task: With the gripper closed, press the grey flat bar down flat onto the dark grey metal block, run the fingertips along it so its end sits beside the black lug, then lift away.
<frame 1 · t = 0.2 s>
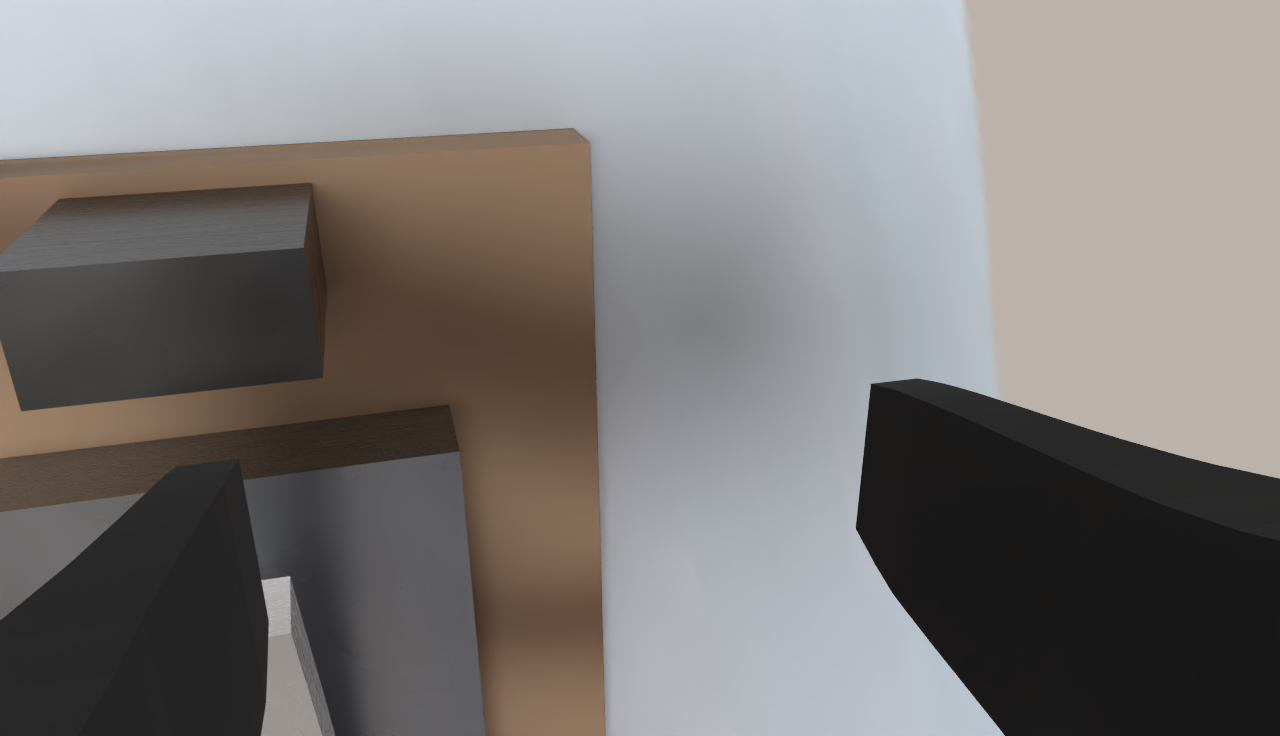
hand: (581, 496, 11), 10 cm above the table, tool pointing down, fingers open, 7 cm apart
clamp block: (257, 645, 18), on the board, point 4 cm above the table
board: (280, 598, 22), on the table
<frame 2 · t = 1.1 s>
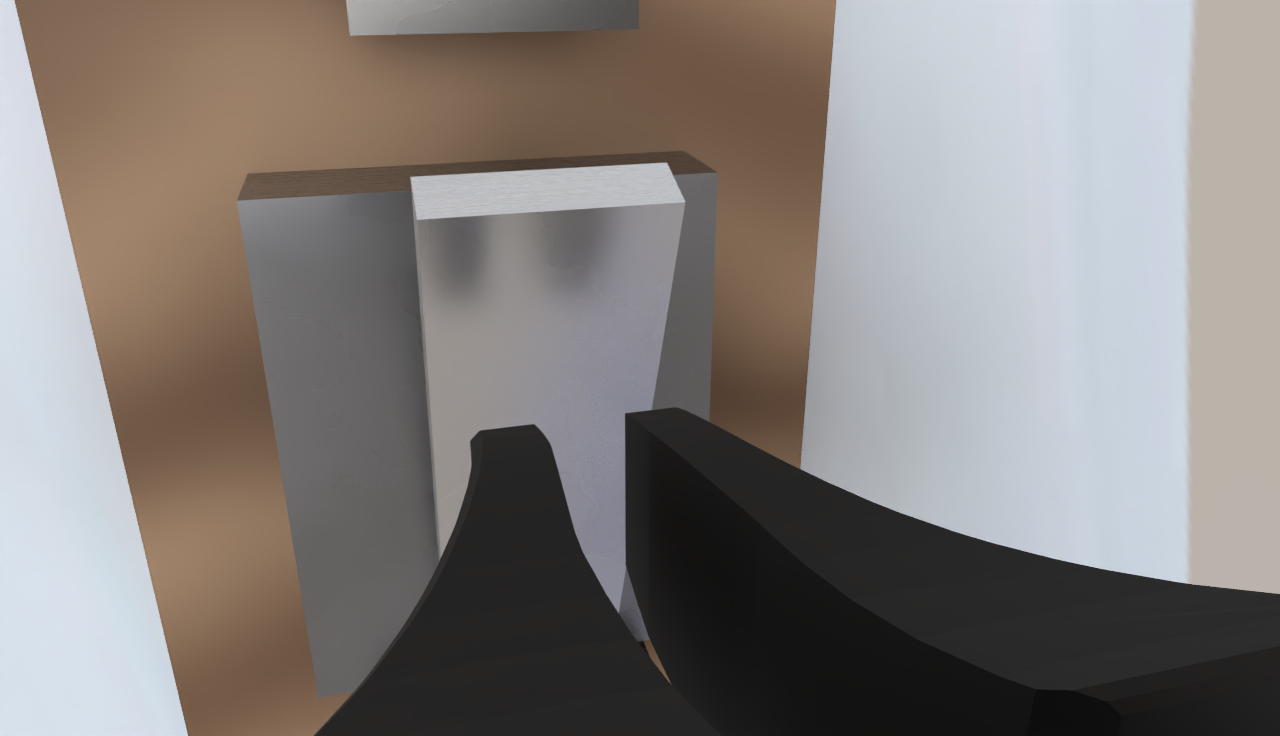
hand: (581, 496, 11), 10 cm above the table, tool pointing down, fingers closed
clamp block: (502, 377, 18), on the board, point 4 cm above the table
grey flat bar: (536, 550, 16), point 7 cm above the table, hinge at 22.0°
board: (483, 376, 22), on the table
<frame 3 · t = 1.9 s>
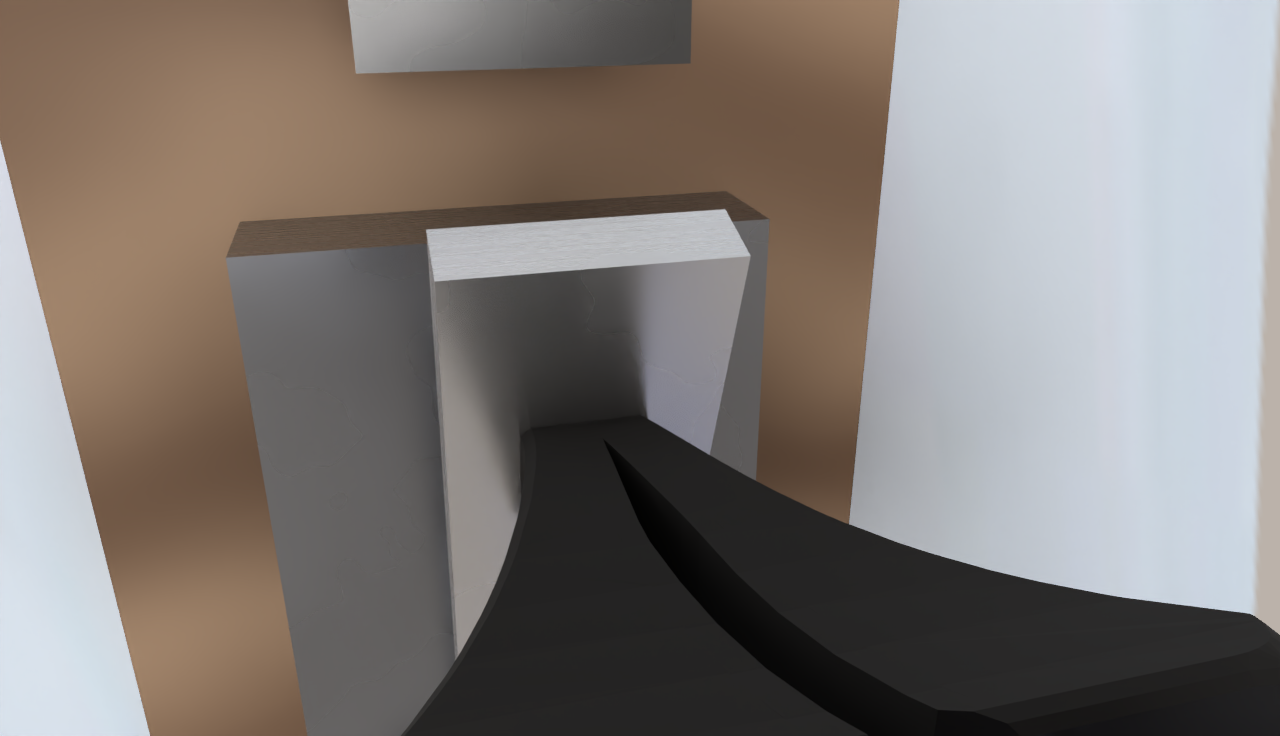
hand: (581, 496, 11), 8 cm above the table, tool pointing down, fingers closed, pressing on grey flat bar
clamp block: (526, 448, 16), on the board, point 4 cm above the table
grey flat bar: (566, 646, 14), point 7 cm above the table, hinge at 20.3°, touching gripper
board: (501, 435, 20), on the table
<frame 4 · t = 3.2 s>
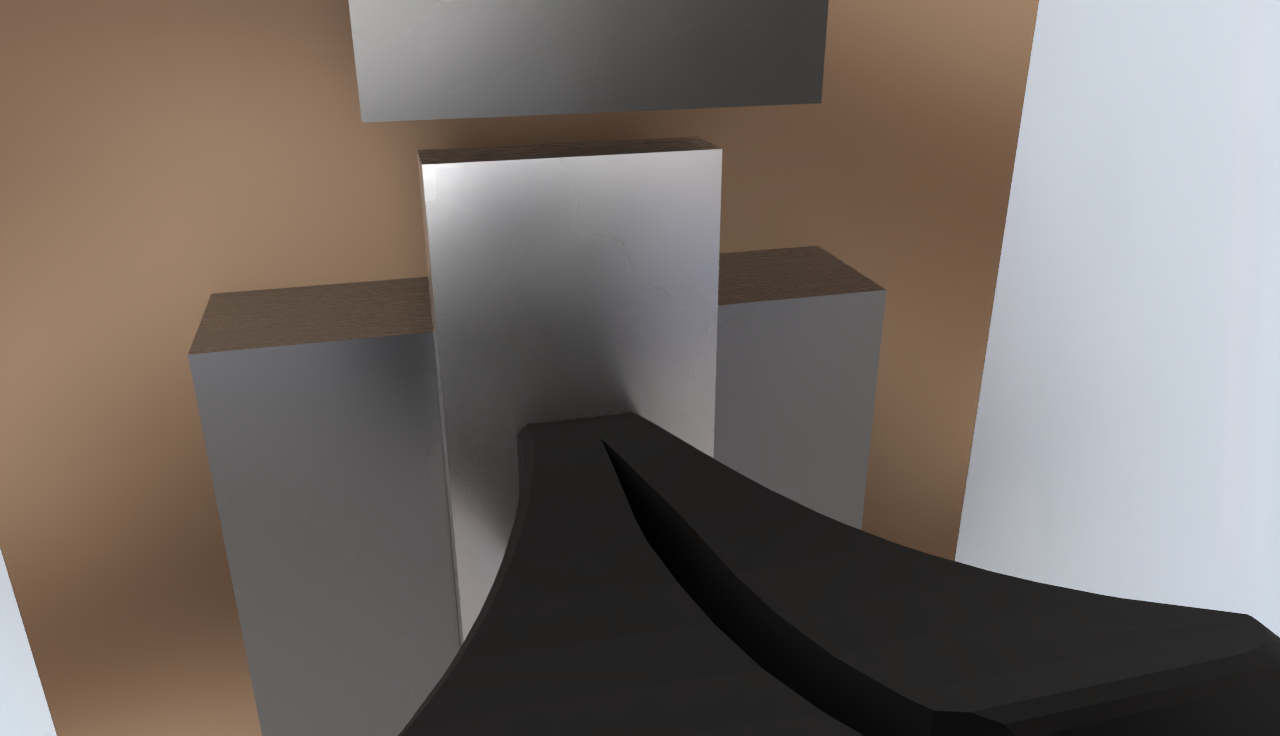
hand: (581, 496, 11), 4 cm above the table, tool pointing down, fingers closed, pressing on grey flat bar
clamp block: (574, 577, 13), on the board, point 4 cm above the table
grey flat bar: (589, 694, 12), point 4 cm above the table, hinge at -0.8°, touching gripper
board: (533, 532, 16), on the table
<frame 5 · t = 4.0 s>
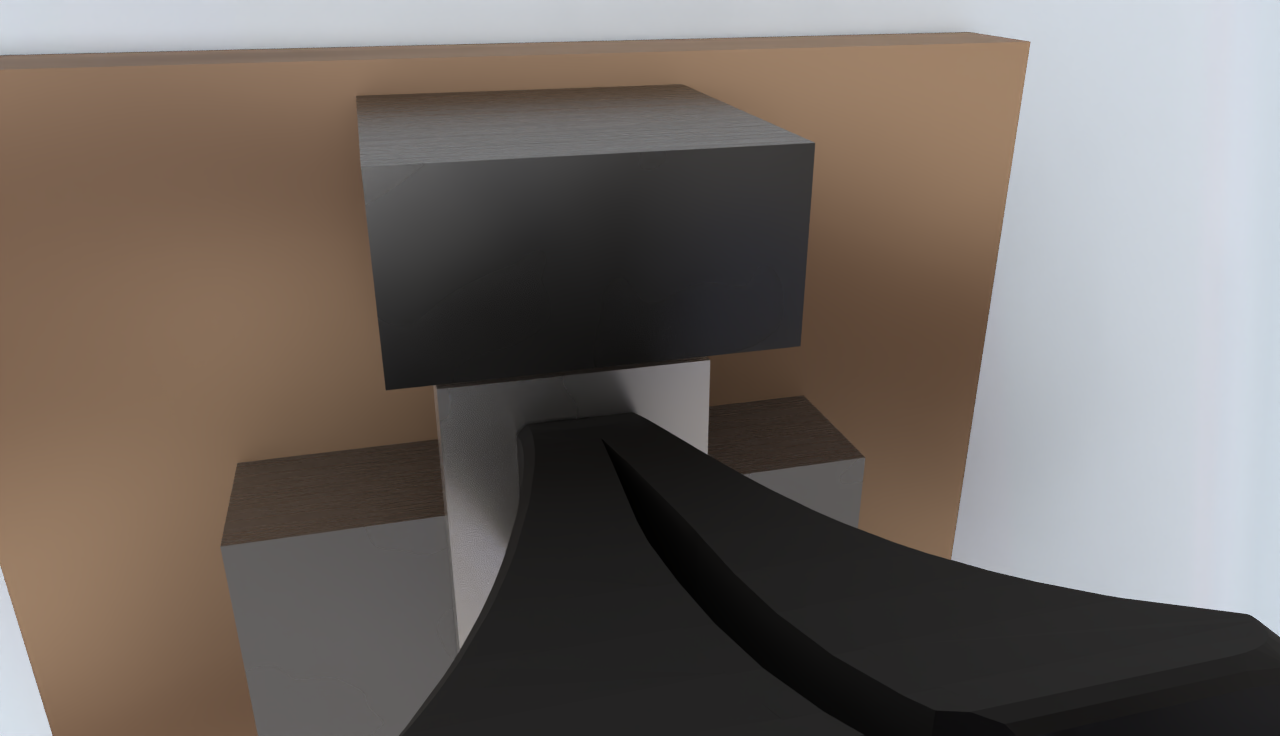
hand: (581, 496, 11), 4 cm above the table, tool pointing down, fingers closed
clamp block: (575, 719, 14), on the board, point 4 cm above the table
board: (536, 644, 17), on the table
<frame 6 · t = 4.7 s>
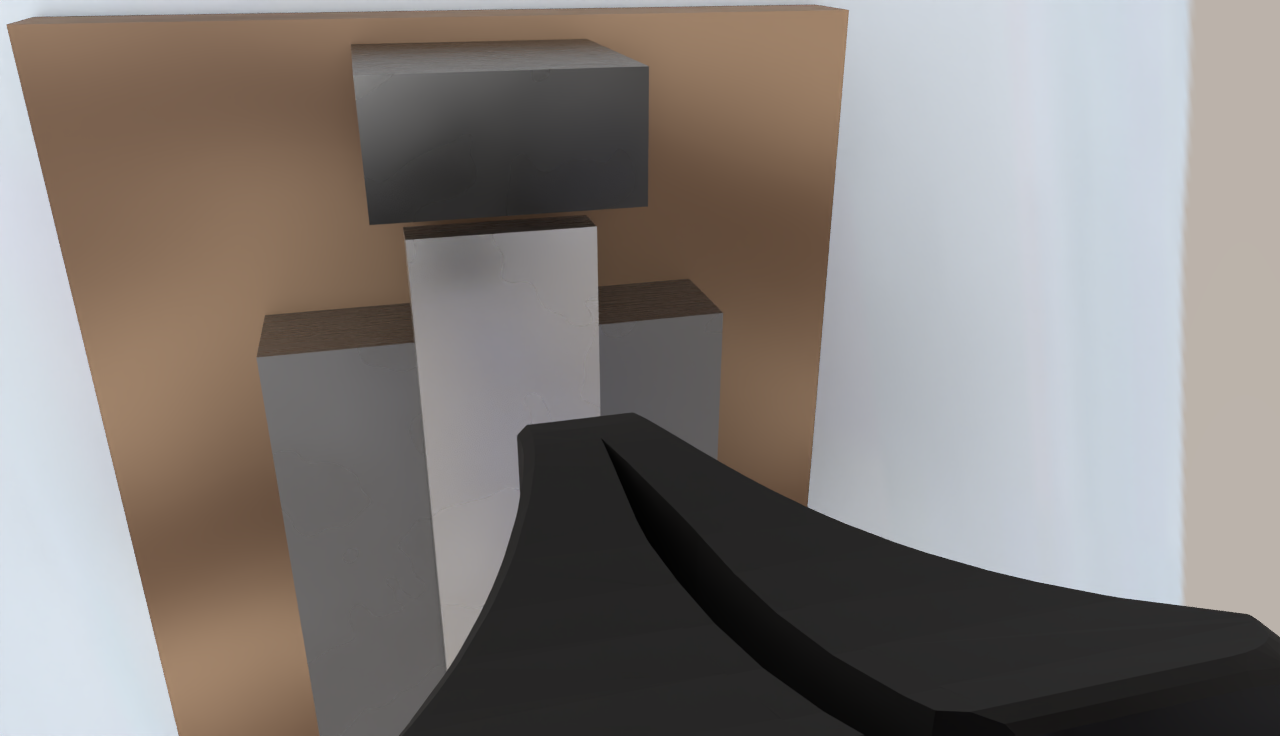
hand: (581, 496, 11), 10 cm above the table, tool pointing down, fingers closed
clamp block: (513, 508, 18), on the board, point 4 cm above the table
grey flat bar: (522, 587, 18), point 4 cm above the table, hinge at -1.0°
board: (492, 485, 22), on the table
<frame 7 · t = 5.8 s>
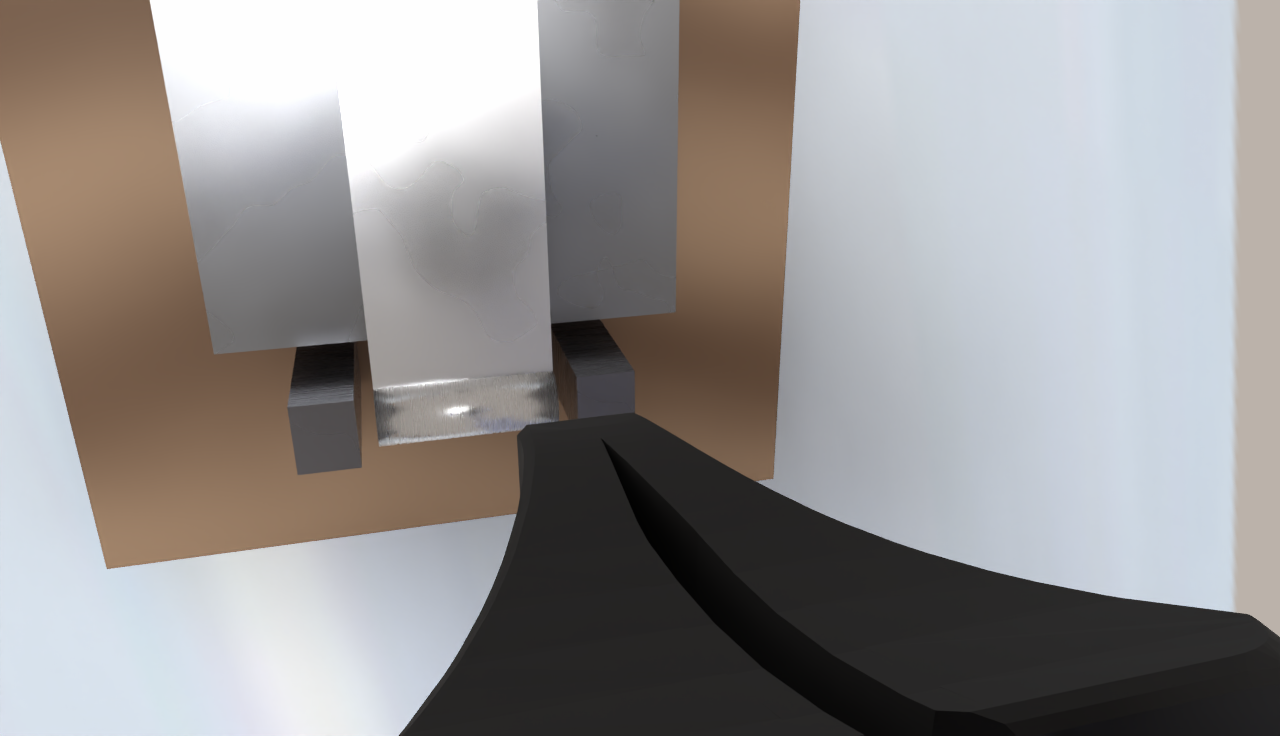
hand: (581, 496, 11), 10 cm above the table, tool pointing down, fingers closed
grey flat bar: (435, 17, 15), point 4 cm above the table, hinge at -1.0°
board: (420, 19, 19), on the table
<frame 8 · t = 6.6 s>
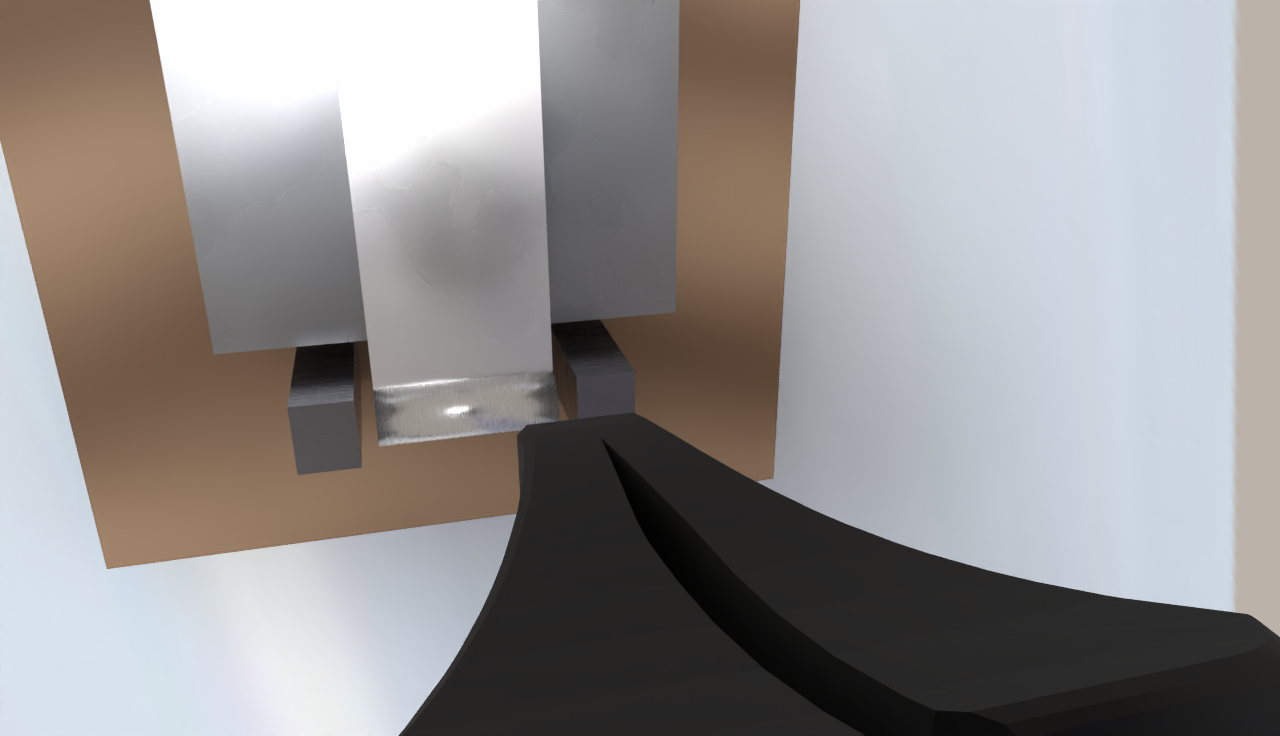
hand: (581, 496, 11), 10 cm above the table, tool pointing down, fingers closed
grey flat bar: (435, 17, 15), point 4 cm above the table, hinge at -1.0°
board: (420, 19, 19), on the table
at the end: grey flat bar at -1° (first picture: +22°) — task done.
